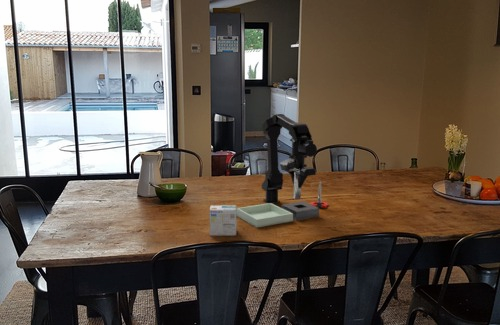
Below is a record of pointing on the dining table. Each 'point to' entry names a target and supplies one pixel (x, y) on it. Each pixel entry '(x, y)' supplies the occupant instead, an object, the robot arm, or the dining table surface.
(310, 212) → the hitch block
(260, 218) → the tray
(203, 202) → the dining table surface
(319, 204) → the tow hook
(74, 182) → the dining table surface
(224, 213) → the light bulb box
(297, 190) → the pin
